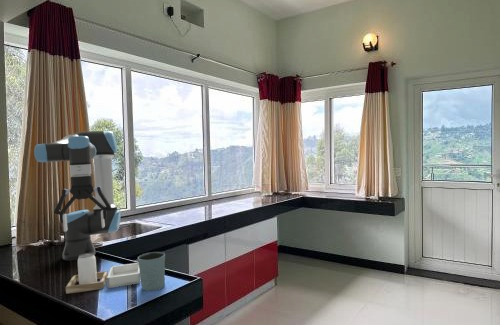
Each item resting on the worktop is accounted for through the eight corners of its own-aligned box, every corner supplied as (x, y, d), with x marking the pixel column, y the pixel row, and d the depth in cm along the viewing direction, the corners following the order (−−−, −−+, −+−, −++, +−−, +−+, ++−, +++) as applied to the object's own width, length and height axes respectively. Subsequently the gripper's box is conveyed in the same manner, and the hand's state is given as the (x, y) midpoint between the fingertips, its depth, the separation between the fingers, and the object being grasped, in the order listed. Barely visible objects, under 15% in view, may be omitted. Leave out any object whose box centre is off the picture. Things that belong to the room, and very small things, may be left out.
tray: (111, 275, 142) (111, 266, 142) (141, 271, 145) (140, 262, 145) (107, 288, 129) (106, 278, 128) (140, 283, 132) (139, 273, 132)
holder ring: (74, 281, 138) (73, 275, 137) (108, 276, 141) (107, 270, 141) (66, 294, 125) (65, 287, 125) (103, 288, 129) (103, 282, 129)
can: (99, 281, 136) (97, 252, 136) (92, 287, 130) (90, 257, 130) (83, 282, 136) (81, 253, 136) (76, 288, 130) (74, 258, 129)
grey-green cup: (140, 294, 122) (138, 261, 121) (138, 284, 131) (136, 254, 131) (168, 288, 126) (167, 256, 125) (164, 279, 135) (162, 250, 135)
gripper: (42, 178, 124) (46, 234, 125) (114, 174, 131) (117, 227, 132) (48, 177, 131) (52, 230, 132) (116, 172, 138) (119, 223, 139)
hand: (84, 229), depth 132 cm, fingers open, 13 cm apart
